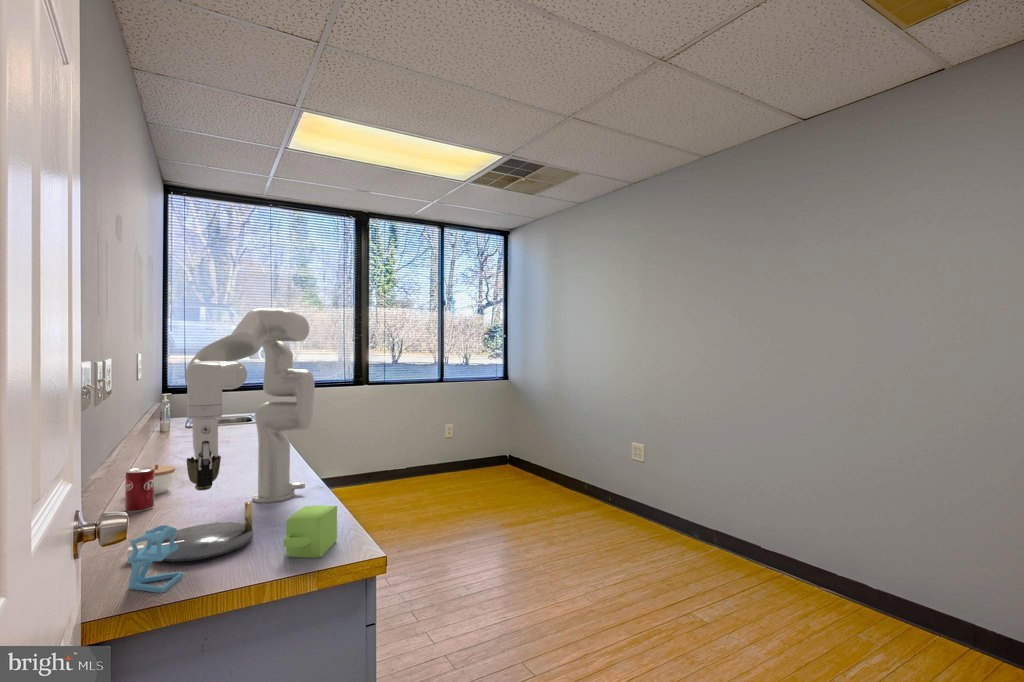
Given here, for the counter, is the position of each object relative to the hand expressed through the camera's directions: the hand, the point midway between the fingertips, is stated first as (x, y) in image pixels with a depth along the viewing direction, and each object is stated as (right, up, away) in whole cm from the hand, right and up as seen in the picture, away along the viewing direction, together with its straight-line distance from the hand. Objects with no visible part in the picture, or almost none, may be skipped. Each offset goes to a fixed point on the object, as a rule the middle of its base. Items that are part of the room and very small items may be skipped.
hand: (203, 482), depth 127 cm
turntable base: (-3, -16, -3) cm, 17 cm away
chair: (+2, -16, -21) cm, 26 cm away
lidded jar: (-44, -16, +46) cm, 66 cm away
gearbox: (+27, -16, -1) cm, 32 cm away
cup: (0, -2, 0) cm, 2 cm away
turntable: (0, -15, -1) cm, 15 cm away
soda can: (-37, -16, +28) cm, 49 cm away
